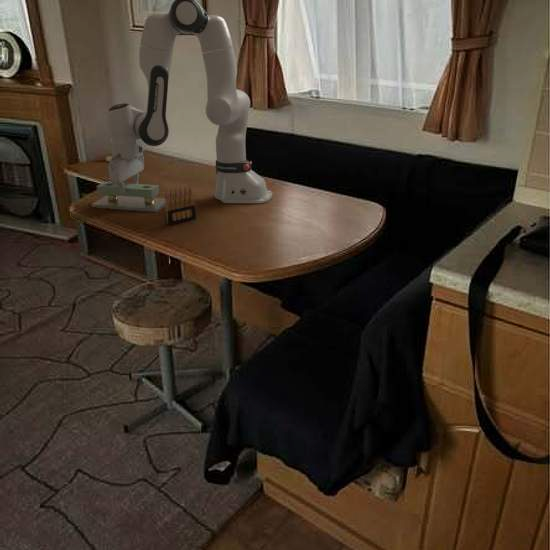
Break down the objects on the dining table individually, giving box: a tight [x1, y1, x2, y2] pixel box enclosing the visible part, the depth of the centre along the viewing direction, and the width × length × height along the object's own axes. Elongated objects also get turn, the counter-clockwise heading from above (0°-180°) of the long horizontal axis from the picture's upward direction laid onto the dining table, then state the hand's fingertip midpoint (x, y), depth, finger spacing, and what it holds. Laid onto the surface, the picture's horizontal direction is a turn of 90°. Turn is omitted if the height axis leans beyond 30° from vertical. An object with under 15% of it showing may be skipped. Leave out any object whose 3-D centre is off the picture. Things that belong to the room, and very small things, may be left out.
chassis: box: [91, 195, 170, 213], centre depth 201 cm, size 26×12×7 cm, turn 77°
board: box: [96, 181, 160, 198], centre depth 200 cm, size 22×6×3 cm, turn 76°
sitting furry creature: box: [105, 155, 113, 163], centre depth 261 cm, size 10×9×12 cm
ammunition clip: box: [164, 185, 197, 227], centre depth 183 cm, size 11×2×12 cm, turn 128°
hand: (129, 188), depth 200 cm, fingers open, 8 cm apart
